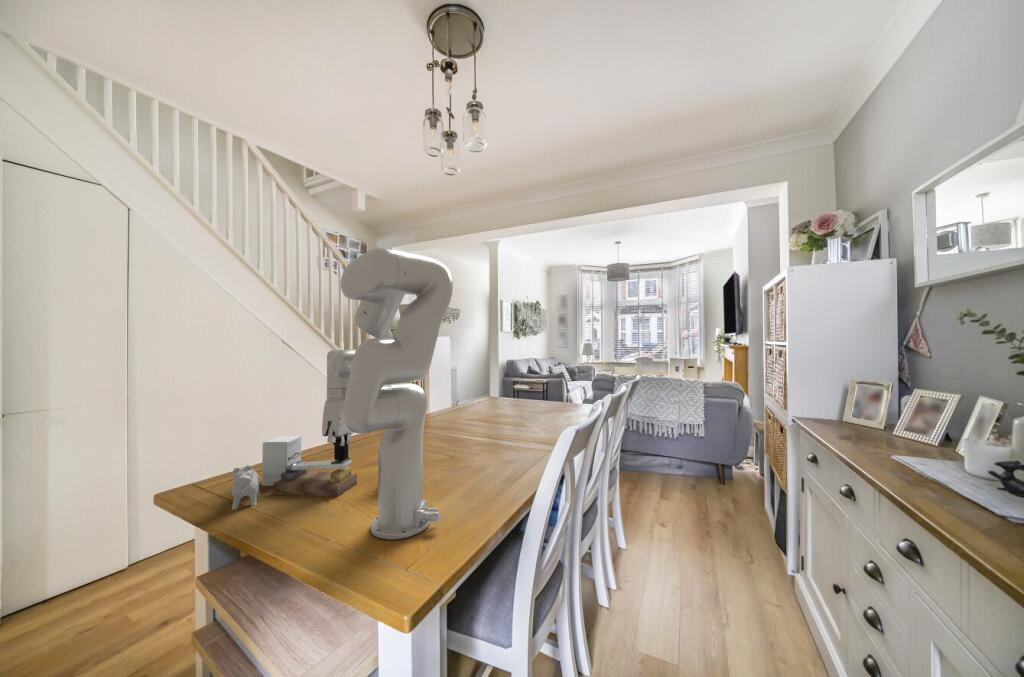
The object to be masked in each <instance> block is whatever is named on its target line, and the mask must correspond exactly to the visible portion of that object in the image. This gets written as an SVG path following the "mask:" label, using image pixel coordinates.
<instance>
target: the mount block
mask: <svg viewBox="0 0 1024 677" xmlns="http://www.w3.org/2000/svg"><path fill="white" fill-rule="evenodd" d="M357 477H358V473H356V472H352V467H351V466H350V467H348V466H345V467H341V468H336V470H333V471H332V472H331V471H330V472H329V471H328V472H327V471H326V472H325V471H309V470H307V469H306V470H291V471H289V472H287V471H285V472H283V473H281V479H280V480H278V481H276V482H273V487H272V488H273V489H272V490H273V492H272V494H273V493H282V494H281V495H292V494H301V495H300V496H312V495H316V497H332V498H333V497H335V498H337V497H340V496H341V495H343V494H344V493H346V492H347V491H349V490H350V489H351V488H353V487H354V486H356V485H357V484H358V478H357Z"/></svg>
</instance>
